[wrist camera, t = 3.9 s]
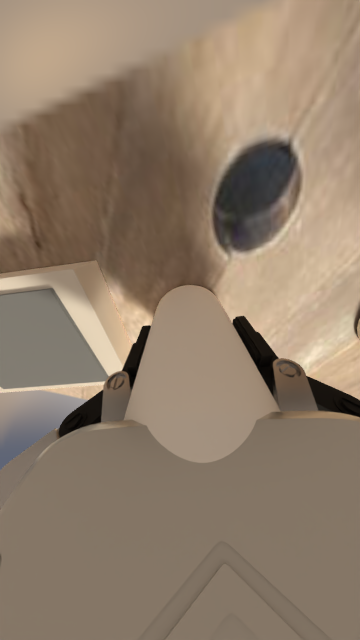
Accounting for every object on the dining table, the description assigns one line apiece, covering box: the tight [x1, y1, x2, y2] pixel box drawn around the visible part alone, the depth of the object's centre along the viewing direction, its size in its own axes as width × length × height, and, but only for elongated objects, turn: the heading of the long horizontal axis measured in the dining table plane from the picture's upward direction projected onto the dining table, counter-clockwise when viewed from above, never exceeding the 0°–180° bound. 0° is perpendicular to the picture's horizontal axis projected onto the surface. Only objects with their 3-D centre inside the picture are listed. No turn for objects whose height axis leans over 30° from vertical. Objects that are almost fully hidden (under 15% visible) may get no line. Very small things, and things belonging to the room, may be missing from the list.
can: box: [124, 285, 280, 463], centre depth 9 cm, size 6×6×12 cm
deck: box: [0, 260, 132, 393], centre depth 14 cm, size 16×12×3 cm
